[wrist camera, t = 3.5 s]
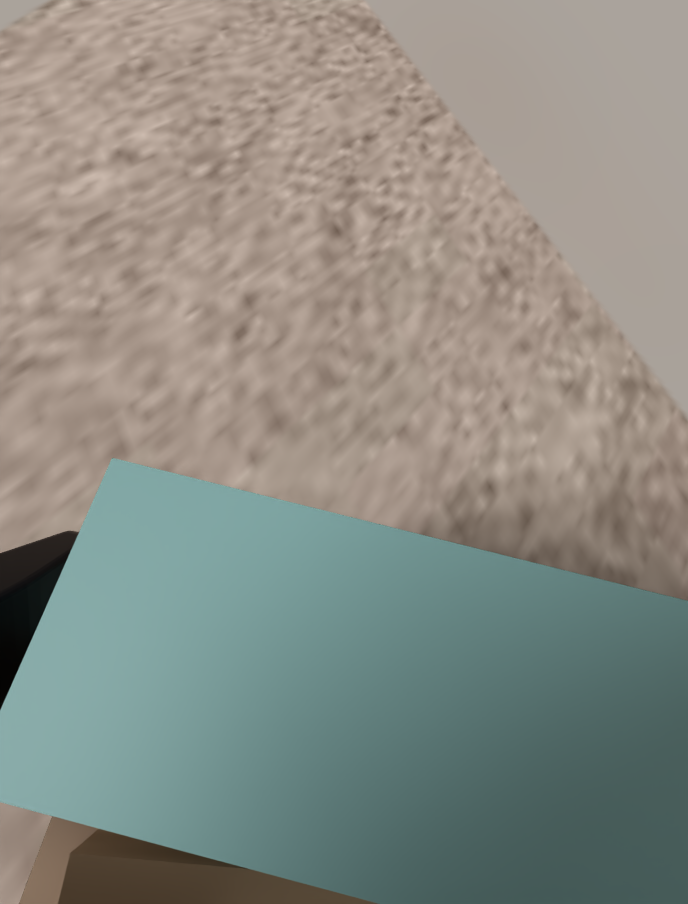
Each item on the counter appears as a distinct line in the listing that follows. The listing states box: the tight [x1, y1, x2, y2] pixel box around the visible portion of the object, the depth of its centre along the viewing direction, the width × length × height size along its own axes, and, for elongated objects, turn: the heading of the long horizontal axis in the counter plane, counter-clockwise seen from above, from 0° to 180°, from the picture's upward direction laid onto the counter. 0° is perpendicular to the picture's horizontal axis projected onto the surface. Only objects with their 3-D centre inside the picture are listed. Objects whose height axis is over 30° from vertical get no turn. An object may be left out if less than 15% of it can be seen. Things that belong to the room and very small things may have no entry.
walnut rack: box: [19, 816, 96, 904], centre depth 11 cm, size 13×12×4 cm
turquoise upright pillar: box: [0, 458, 688, 904], centre depth 8 cm, size 2×6×11 cm, turn 77°
